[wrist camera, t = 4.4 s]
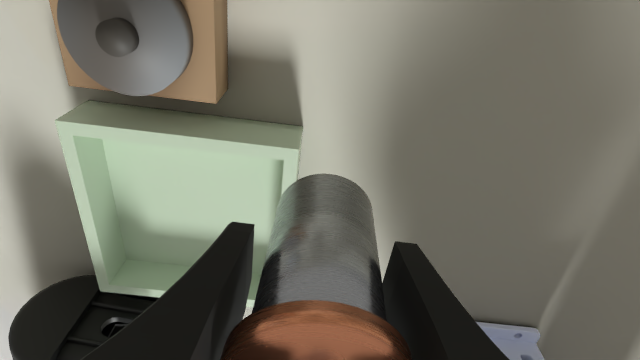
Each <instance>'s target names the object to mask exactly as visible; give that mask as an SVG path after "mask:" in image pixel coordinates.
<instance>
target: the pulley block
mask: <svg viewBox="0 0 640 360" xmlns="http://www.w3.org/2000/svg"><path fill="white" fill-rule="evenodd" d="M49 2H50V7H51V11H52V15H53V20H54V24H55V28H56V32H57V37H58V41H59V45H60V50H61V54H62V58H63V62H64V67H65V71H66V75H67V80H68V84H69V86H75V87H83V88H92V89H100V90H108V91H114V92H117V93H121V94H124V95H130V96H146V95H149V96H157V97H165V98H173V99H181V100H189V101H198V102H206V103H214V104H217V102H218V101H219V100H220V98H221V97H222V96H223V95H224V93H225V92H226V91H227V89H228V45H227V0H49Z"/></svg>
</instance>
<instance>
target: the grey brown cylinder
mask: <svg viewBox="0 0 640 360" xmlns="http://www.w3.org/2000/svg"><path fill="white" fill-rule="evenodd" d="M220 360H412V357H411V352H410V349H409V346H408V344H407V343H406V341H405V339H404V338H403V336H402V335H401V334H400V333H399V332H398V330H396V329H395V328H394V327H393V326H392V325H391V324H390V323H388V322H387V317H386V310H385V302H384V295H383V287H382V280H381V272H380V265H379V257H378V249H377V242H376V234H375V227H374V219H373V212H372V206H371V203H370V200H369V198H368V196H367V195H366V193H365V192H364V191H363V190H362V189H361V188H360V187H359V186H358V185H357V184H356V183H354V182H352V181H351V180H349V179H346V178H344V177H341V176H338V175H333V174H315V175H310V176H306V177H304V178H301V179H299V180H297V181H296V182H294V183H293V184H291V185H290V186H289V187H288V188H287V189H286V190H285V191H284V193H283V194H282V196H281V198H280V200H279V203H278V207H277V211H276V215H275V219H274V223H273V227H272V232H271V236H270V240H269V244H268V248H267V252H266V257H265V261H264V265H263V269H262V273H261V277H260V281H259V286H258V290H257V294H256V298H255V302H254V306H253V310H252V314H251V315H249V316H248V317H246V318H244V319H243V320H242V321H241V322H239V323H238V324H237V325H236V326H235V327H234V328H233V330H232V331H231V332H230V334H229V335H228V337H227V339H226V342H225V345H224V348H223V352H222V355H221V358H220Z"/></svg>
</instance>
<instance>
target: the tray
mask: <svg viewBox="0 0 640 360" xmlns="http://www.w3.org/2000/svg"><path fill="white" fill-rule="evenodd" d="M55 124H56V127H57V131H58V135H59V139H60V142H61V146H62V150H63V154H64V158H65V161H66V165H67V169H68V173H69V176H70V180H71V184H72V188H73V191H74V195H75V199H76V203H77V206H78V210H79V214H80V218H81V221H82V225H83V229H84V233H85V237H86V240H87V244H88V248H89V252H90V255H91V259H92V263H93V267H94V270H95V274H96V278H97V282H98V285H99V289H100V291H101V292H111V293H121V294H130V295H140V296H149V297H159V298H160V297H161V296H162V295H163V294H164V293H165V292H166V291H167V290H168V289H169V288H170V287H171V286H172V285H173V284H174V283H175V282H177V281H178V280H179V279H180V278H181V277H182V276H183V275H184V274H185V273H186V272H187V271H188V270H189V269H190V268H191V267H192V265H193V264H194V263H195V262H196V261H197V260H198V259H199V258H200V257H201V256H202V255H203V254H204V253H205V252H206V250H207V249H208V248H209V247H210V246H211V245H212V244H213V243H214V241H215V240H216V239H217V238H218V237H219V235H220V234H221V233H222V232H223V230H224V229H225V228H226V227H227V225H228V224H230V223H231V222H240V223H248V224H255V225H254V245H253V265H252V279H251V284H250V289H249V294H248V299H247V303H246V307H253V306H254V302H255V298H256V294H257V290H258V286H259V281H260V277H261V273H262V269H263V265H264V261H265V257H266V252H267V248H268V244H269V240H270V236H271V232H272V227H273V223H274V219H275V215H276V211H277V207H278V203H279V200H280V198H281V196H282V194H283V193H284V191H285V190H286V189H287V188H288V187H289V186H290V185H291V184H293V183H294V182H296V181H297V180H298V171H299V161H300V152H301V142H302V132H303V126H295V125H287V124H279V123H271V122H262V121H254V120H246V119H238V118H230V117H221V116H213V115H205V114H197V113H188V112H180V111H172V110H164V109H155V108H147V107H139V106H131V105H123V104H114V103H106V102H98V101H90V100H88V101H86V102H85V103H83V104H81V105H80V106H78V107H76V108H75V109H73V110H71V111H70V112H68V113H66V114H65V115H63V116H61V117H60V118H58V119H56V120H55Z"/></svg>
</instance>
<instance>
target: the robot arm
mask: <svg viewBox="0 0 640 360" xmlns="http://www.w3.org/2000/svg"><path fill="white" fill-rule="evenodd" d="M254 225H255V224H248V223H240V222H231V223H230V224H228V225H227V227H226V228H225V229H224V230H223V232H222V233H221V234H220V235H219V237H218V238H217V239H216V240H215V241H214V243H213V244H212V245H211V246H210V247H209V248H208V249H207V250H206V252H205V253H204V254H203V255H202V256H201V257H200V258H199V259H198V260H197V261H196V262H195V263H194V264H193V265H192V267H191V268H190V269H189V270H188V271H187V272H186V273H185V274H184V275H183V276H182V277H181V278H180V279H179V280H178V281H177V282H175V283H174V284H173V285H172V286H171V287H170V288H169V289H168V290H167V291H166V292H165V293H164V294H163V295H162V296H161V297H160V298H158V299H157V300H156V301H155V302H154V303H153V304H152V305H150V306H149V307H148V308H147V309H146V310H145V311H143V312H142V313H141V314H140V315H139V316H138V317H136V318H135V319H134V320H133V321H131V322H130V323H129V324H128V325H126V326H125V327H124V328H123V329H121V330H120V331H119V332H117V333H116V334H115V335H113V336H112V337H111V338H109V339H108V340H107V341H105V342H104V343H103V344H101V345H100V346H99V347H97V348H96V349H95V350H93V351H92V352H90V353H89V354H88V355H86V356H85V357H83V358H82V359H80V360H220V358H221V355H222V352H223V348H224V345H225V342H226V339H227V337H228V335H229V334H230V332H231V331H232V330H233V328H234V327H235V326H236V325H237V324H238V323H239V322H241V321H242V319H243V316H244V312H245V308H246V303H247V299H248V294H249V289H250V284H251V279H252V265H253V245H254ZM382 287H383V295H384V302H385V310H386V317H387V322H388V323H390V324H391V325H392V326H393V327H394V328H395V329H396V330H398V332H399V333H400V334H401V335H402V336H403V338H404V339H405V341H406V343H407V344H408V346H409V349H410V352H411V357H412V360H545V359H544V358H543V356H542V354H541V352H540V350H539V348H538V346H537V344H536V343H537V341H538V340H539V338H540V336H541V335H540V333H539V331H538V330H537V329H536V328H531V327H521V326H512V325H502V324H493V323H483V322H475V321H474V320H473V318H472V317H471V316H470V315H469V313H468V312H467V311H466V310H465V309H464V307H463V306H462V305H461V303H460V302H459V301H458V300H457V298H456V297H455V296H454V294H453V293H452V292H451V291H450V289H449V288H448V287H447V285H446V284H445V282H444V281H443V280H442V278H441V277H440V276H439V274H438V273H437V272H436V270H435V269H434V267H433V266H432V265H431V263H430V262H429V260H428V259H427V258H426V256H425V255H424V253H423V252H422V251H421V249H420V248H419V247H418V245H417V244H412V243H404V242H395V243H394V247H393V250H392V253H391V256H390V260H389V263H388V266H387V270H386V273H385V276H384V279H383V283H382Z"/></svg>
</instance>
